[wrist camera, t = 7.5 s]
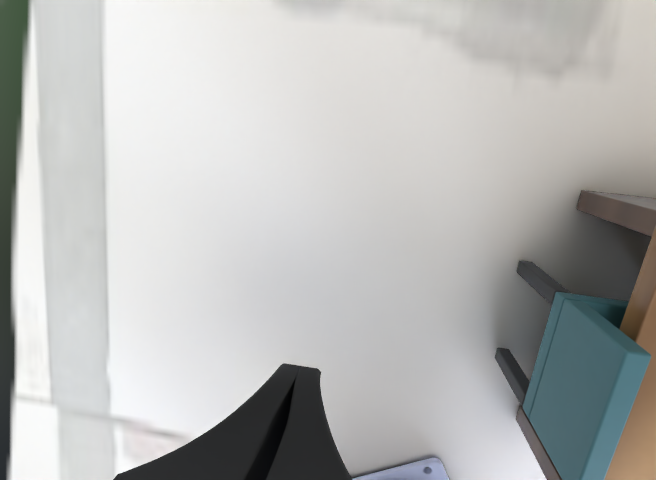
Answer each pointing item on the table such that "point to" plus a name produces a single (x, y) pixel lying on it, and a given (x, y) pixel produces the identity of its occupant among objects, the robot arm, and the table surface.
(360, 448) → the table surface
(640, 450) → the desk
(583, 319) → the chair
